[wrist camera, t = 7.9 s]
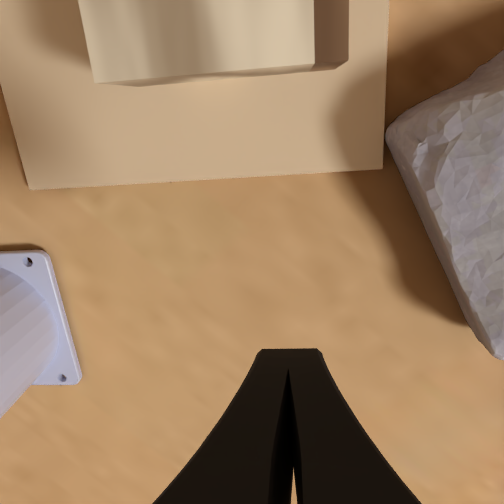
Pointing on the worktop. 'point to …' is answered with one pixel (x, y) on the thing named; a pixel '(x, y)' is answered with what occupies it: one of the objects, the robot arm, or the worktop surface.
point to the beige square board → (184, 110)
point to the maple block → (212, 39)
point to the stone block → (461, 190)
